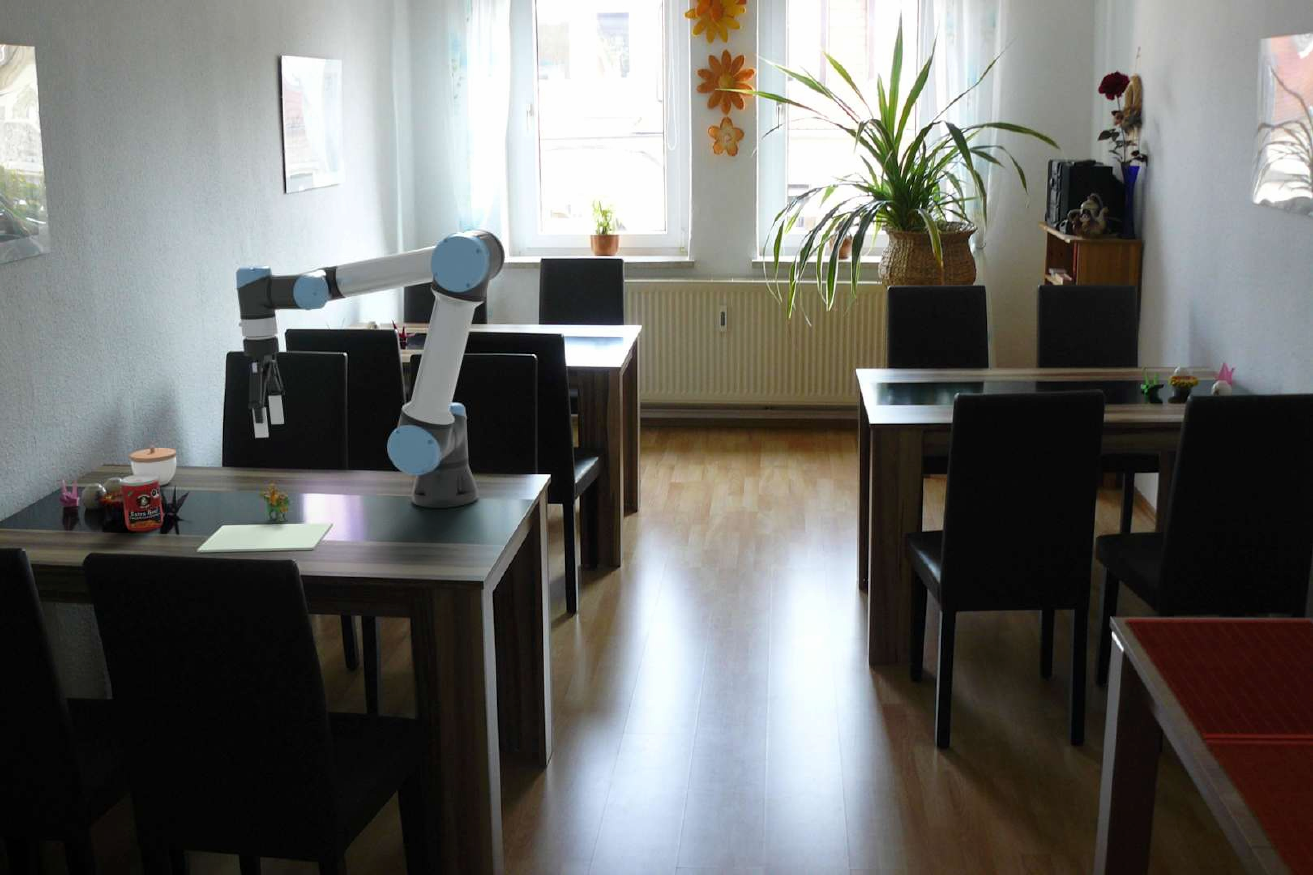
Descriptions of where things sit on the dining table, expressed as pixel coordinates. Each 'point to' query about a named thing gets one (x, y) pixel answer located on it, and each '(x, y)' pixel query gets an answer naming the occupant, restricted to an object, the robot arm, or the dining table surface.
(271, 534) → the mat
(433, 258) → the robot arm
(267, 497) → the figurine
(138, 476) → the canned food
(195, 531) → the dining table surface
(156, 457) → the lidded jar
